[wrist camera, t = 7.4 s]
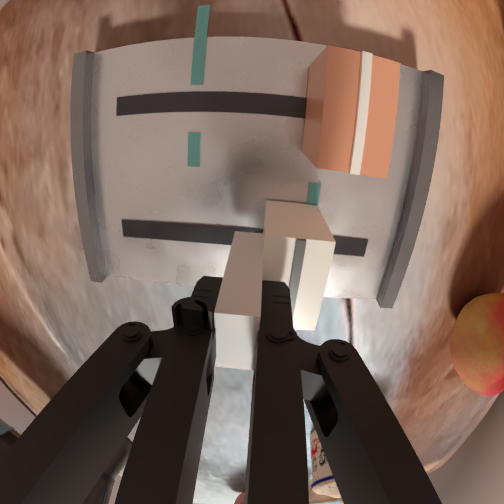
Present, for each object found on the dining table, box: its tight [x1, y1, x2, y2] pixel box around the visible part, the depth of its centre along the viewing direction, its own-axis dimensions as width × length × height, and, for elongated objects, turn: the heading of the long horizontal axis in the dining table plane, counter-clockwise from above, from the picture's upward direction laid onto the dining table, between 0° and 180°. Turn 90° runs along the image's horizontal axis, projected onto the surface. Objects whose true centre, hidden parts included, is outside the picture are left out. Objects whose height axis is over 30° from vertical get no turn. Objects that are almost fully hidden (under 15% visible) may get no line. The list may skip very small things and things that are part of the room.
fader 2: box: [302, 45, 400, 179], centre depth 11 cm, size 3×5×5 cm, turn 176°
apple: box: [450, 293, 504, 396], centre depth 18 cm, size 10×10×10 cm
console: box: [71, 5, 444, 308], centre depth 16 cm, size 22×20×3 cm
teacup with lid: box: [310, 430, 343, 503], centre depth 29 cm, size 12×9×12 cm
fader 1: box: [262, 200, 336, 330], centre depth 15 cm, size 3×5×5 cm, turn 176°
